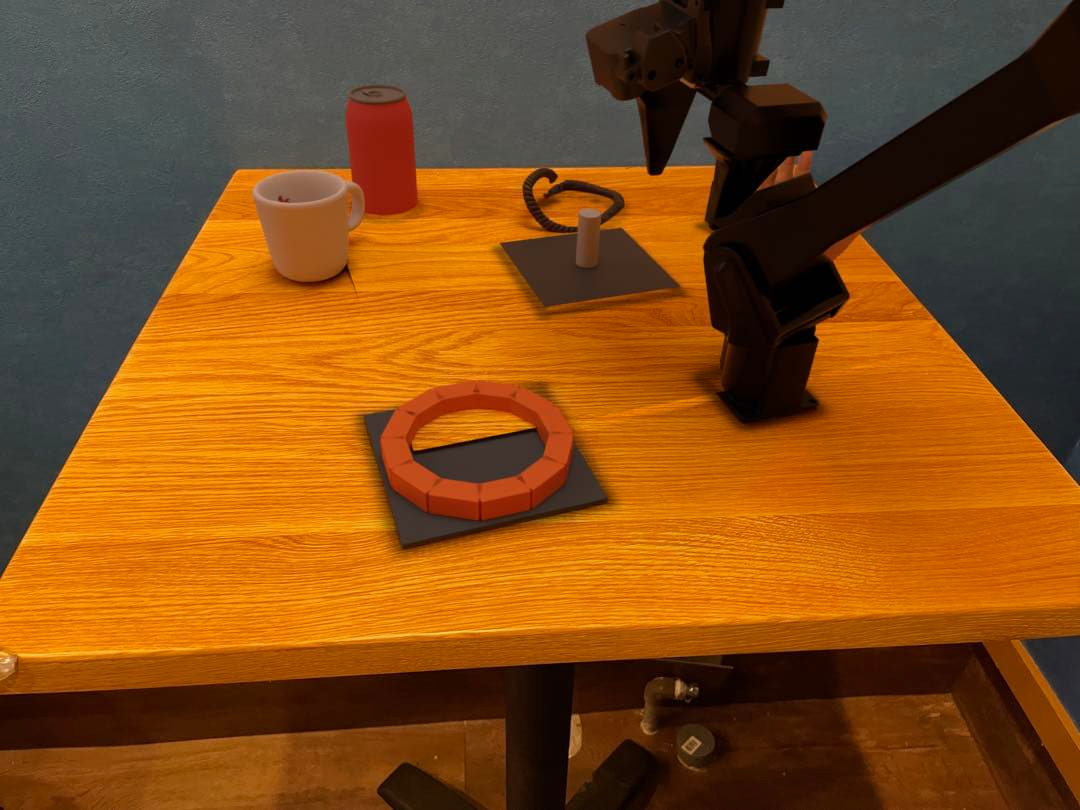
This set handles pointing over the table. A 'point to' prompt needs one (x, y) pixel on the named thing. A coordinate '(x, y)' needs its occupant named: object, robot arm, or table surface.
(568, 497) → the mat
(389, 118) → the beer can
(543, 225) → the curled ridged horns
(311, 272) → the cup
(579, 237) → the stake
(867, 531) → the table surface
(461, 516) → the ring
